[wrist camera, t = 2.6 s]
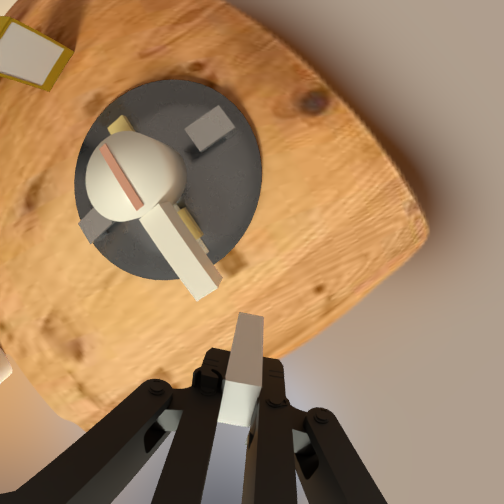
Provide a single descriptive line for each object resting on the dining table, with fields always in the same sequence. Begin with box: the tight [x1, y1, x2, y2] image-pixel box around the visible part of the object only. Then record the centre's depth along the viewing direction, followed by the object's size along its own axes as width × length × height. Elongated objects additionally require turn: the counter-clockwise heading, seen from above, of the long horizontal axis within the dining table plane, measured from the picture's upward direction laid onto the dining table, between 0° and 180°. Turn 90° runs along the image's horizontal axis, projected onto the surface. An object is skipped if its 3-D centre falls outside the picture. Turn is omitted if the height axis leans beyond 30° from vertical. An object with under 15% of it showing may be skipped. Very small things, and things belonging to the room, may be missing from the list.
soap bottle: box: [0, 16, 74, 92], centre depth 14 cm, size 7×13×24 cm, turn 146°
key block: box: [86, 115, 223, 301], centre depth 25 cm, size 22×8×8 cm, turn 34°
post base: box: [74, 80, 262, 280], centre depth 28 cm, size 24×24×4 cm
